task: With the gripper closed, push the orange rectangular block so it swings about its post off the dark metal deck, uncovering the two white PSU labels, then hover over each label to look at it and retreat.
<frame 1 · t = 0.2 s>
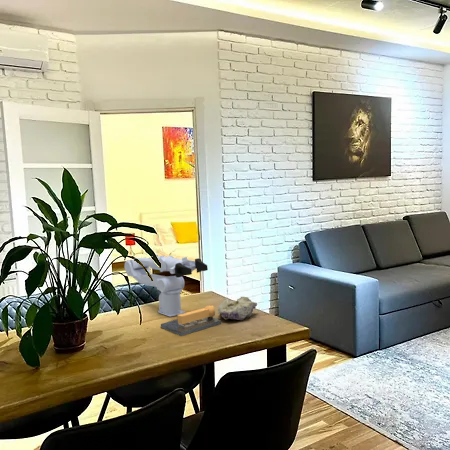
hand: (198, 269, 176), 21 cm above the table, tool horizontal, fingers open, 7 cm apart
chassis: (191, 325, 176), on the table
geode: (235, 317, 186), on the table
orange rectangular block: (197, 314, 176), point 4 cm above the table, hinge at 0.0°
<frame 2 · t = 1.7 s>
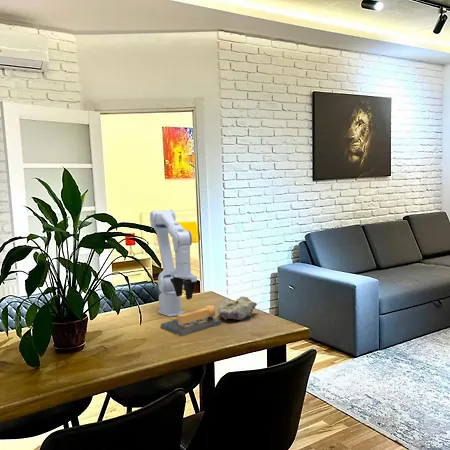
hand: (184, 297, 178), 10 cm above the table, tool pointing down, fingers open, 6 cm apart
nothing on the table moved.
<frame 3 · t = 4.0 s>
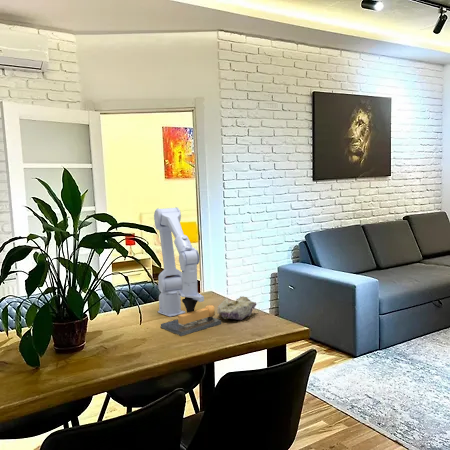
hand: (190, 316, 176), 3 cm above the table, tool pointing down, fingers closed, pressing on orange rectangular block
orange rectangular block: (197, 314, 176), point 4 cm above the table, hinge at 1.9°, touching gripper
everything else where it was.
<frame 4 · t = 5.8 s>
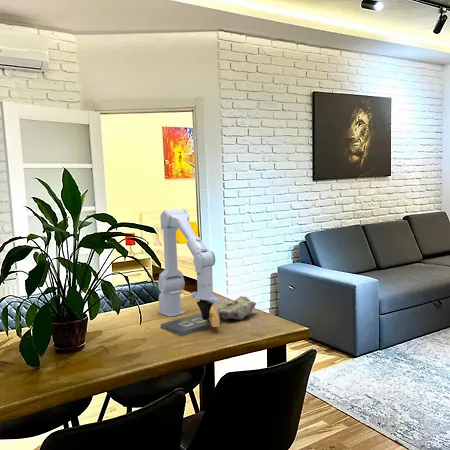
hand: (205, 319, 172), 3 cm above the table, tool pointing down, fingers closed, pressing on orange rectangular block
orange rectangular block: (212, 315, 174), point 4 cm above the table, hinge at 59.5°, touching gripper
everything else where it was.
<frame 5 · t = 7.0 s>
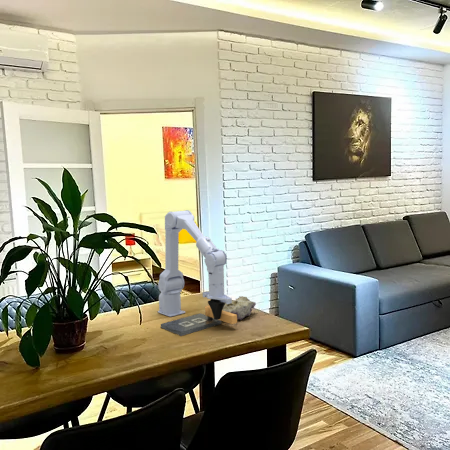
hand: (217, 319, 172), 3 cm above the table, tool pointing down, fingers closed, pressing on orange rectangular block
orange rectangular block: (220, 314, 175), point 4 cm above the table, hinge at 89.1°, touching gripper
everything else where it was.
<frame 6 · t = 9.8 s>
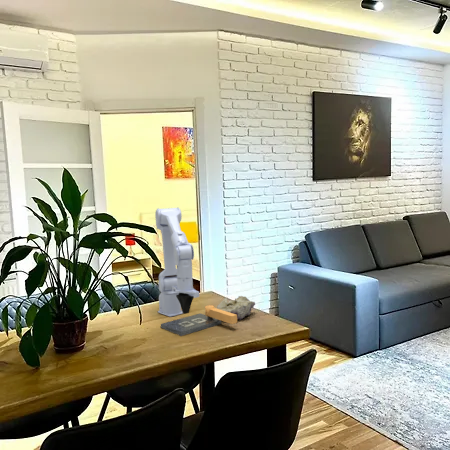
hand: (186, 312, 173), 6 cm above the table, tool pointing down, fingers closed
orange rectangular block: (220, 314, 175), point 4 cm above the table, hinge at 89.2°
everything else where it was.
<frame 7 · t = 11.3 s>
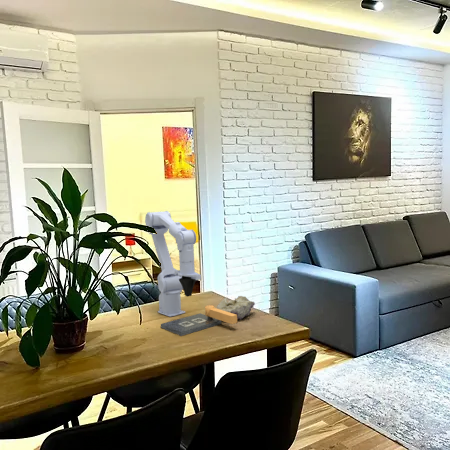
hand: (188, 295, 180), 10 cm above the table, tool pointing down, fingers closed
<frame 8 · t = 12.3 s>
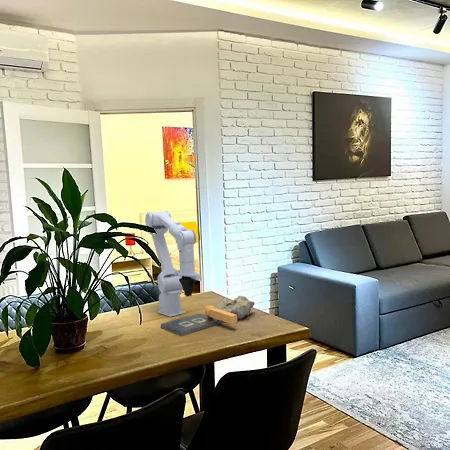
hand: (188, 295, 180), 10 cm above the table, tool pointing down, fingers closed
at the end: orange rectangular block at +89° (first picture: +0°); the gripper is holding nothing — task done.
